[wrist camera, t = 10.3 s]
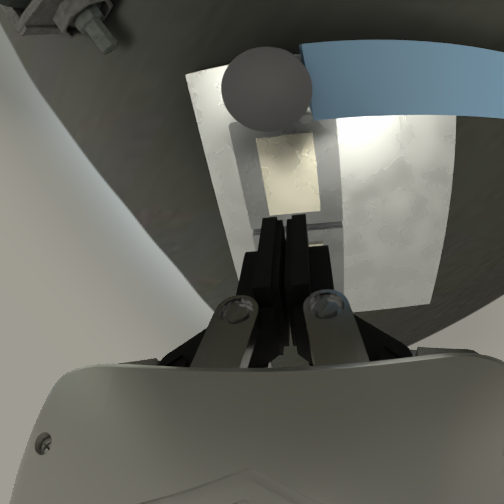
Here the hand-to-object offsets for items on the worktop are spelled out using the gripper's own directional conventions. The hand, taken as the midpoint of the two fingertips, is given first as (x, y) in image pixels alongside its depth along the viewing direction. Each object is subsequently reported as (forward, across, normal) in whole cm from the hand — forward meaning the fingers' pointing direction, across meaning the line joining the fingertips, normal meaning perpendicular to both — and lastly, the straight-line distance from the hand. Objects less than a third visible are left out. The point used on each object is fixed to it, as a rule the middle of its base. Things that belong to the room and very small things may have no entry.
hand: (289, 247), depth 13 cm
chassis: (+10, -3, +3) cm, 11 cm away
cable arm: (+5, -8, -6) cm, 11 cm away
